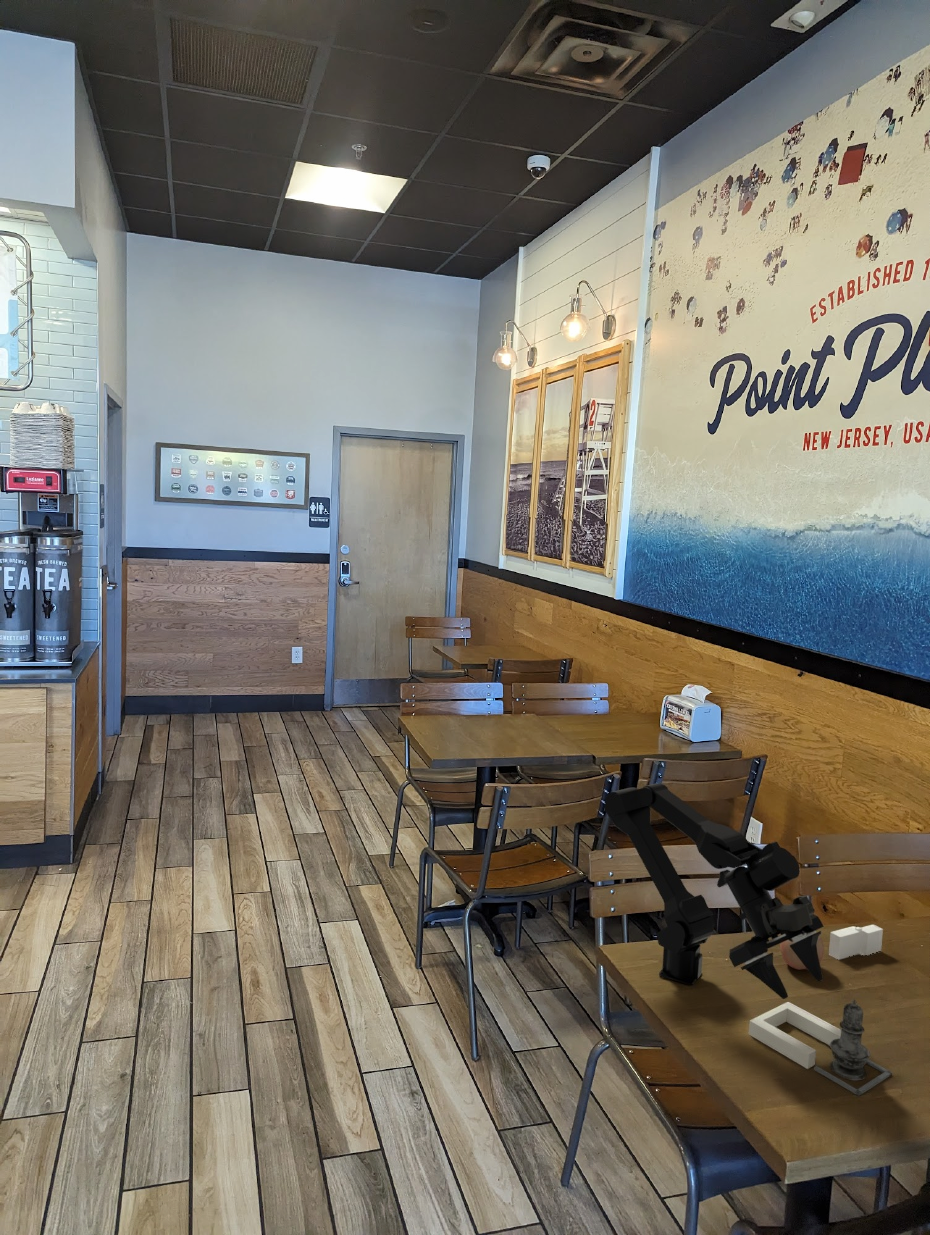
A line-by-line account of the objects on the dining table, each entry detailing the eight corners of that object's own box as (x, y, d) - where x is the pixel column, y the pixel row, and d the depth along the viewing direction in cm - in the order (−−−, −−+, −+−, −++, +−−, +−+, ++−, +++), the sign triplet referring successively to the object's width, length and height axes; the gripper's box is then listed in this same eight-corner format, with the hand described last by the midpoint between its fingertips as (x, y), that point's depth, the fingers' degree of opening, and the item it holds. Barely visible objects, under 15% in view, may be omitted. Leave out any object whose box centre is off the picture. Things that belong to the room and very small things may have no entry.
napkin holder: (825, 965, 174) (827, 937, 174) (814, 938, 185) (816, 913, 185) (905, 975, 171) (908, 947, 171) (889, 947, 183) (891, 921, 182)
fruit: (776, 954, 177) (779, 917, 176) (817, 959, 175) (820, 922, 174) (782, 974, 169) (785, 935, 168) (825, 980, 167) (829, 940, 167)
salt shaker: (872, 1084, 136) (879, 1012, 135) (832, 1078, 137) (838, 1007, 136) (863, 1061, 142) (869, 992, 140) (824, 1056, 143) (831, 987, 142)
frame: (814, 1069, 139) (814, 1067, 139) (847, 1050, 145) (847, 1048, 145) (858, 1096, 133) (859, 1093, 133) (891, 1074, 139) (891, 1072, 139)
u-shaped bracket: (748, 1034, 148) (749, 1020, 148) (786, 1014, 155) (787, 1001, 154) (807, 1069, 139) (808, 1054, 139) (845, 1046, 146) (846, 1032, 145)
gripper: (747, 898, 142) (799, 994, 135) (818, 870, 152) (871, 958, 145) (707, 921, 150) (755, 1012, 143) (778, 893, 160) (825, 977, 153)
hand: (803, 989), depth 146 cm, fingers open, 9 cm apart
